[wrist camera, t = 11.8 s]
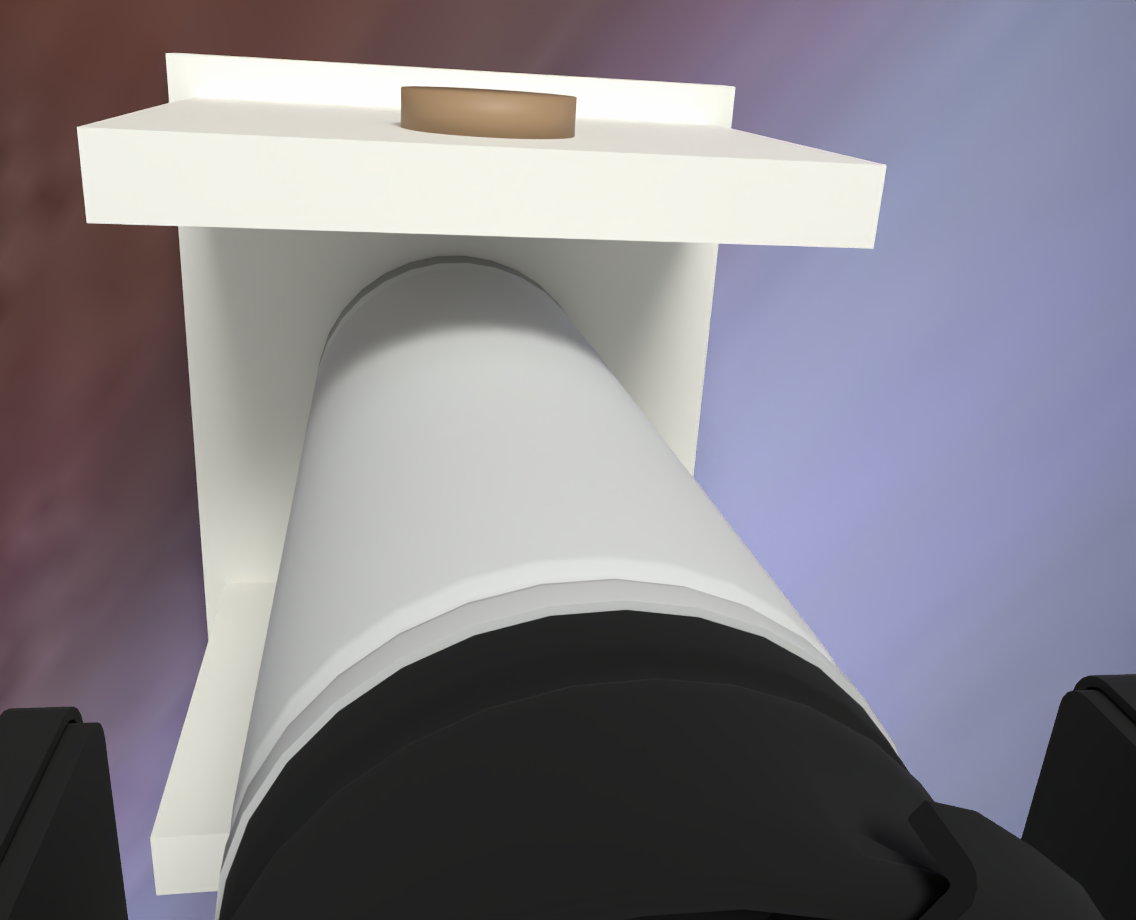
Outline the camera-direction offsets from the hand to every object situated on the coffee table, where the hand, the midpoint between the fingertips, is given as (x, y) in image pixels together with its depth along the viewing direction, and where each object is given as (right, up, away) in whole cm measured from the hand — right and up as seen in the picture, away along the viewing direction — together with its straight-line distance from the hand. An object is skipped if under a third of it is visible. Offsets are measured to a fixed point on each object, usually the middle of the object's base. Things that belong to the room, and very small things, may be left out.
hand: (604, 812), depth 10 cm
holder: (-3, +6, +16) cm, 17 cm away
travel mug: (-3, +5, +15) cm, 16 cm away
